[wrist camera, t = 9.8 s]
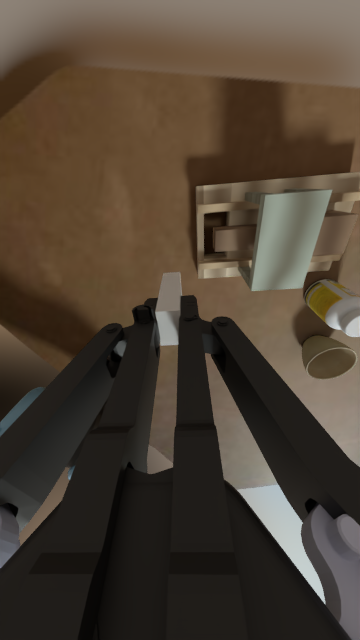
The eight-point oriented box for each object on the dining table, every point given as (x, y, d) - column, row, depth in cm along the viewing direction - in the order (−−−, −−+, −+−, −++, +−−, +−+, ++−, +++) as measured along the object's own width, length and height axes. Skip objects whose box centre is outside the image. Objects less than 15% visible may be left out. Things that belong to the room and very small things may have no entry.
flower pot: (340, 323, 45) (363, 344, 39) (331, 354, 50) (351, 376, 44) (293, 330, 46) (310, 352, 40) (290, 360, 52) (304, 382, 46)
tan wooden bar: (212, 252, 33) (216, 262, 29) (213, 220, 30) (217, 225, 26) (323, 244, 32) (343, 253, 28) (334, 210, 29) (358, 214, 25)
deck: (197, 272, 38) (202, 301, 29) (195, 186, 30) (200, 187, 21) (319, 264, 37) (365, 292, 28) (350, 172, 29) (430, 166, 20)
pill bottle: (298, 305, 42) (331, 341, 33) (309, 277, 39) (351, 308, 29) (328, 306, 42) (371, 342, 33) (343, 277, 39) (395, 308, 29)
